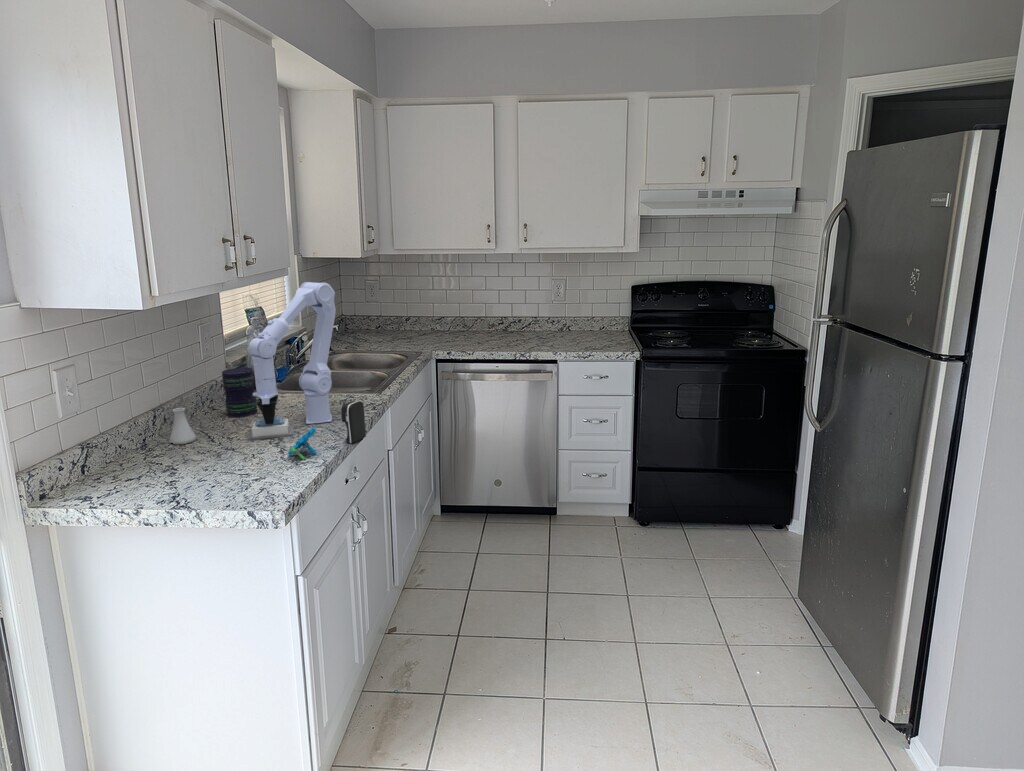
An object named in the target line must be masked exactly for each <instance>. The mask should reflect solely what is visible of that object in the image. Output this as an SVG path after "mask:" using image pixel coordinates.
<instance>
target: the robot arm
mask: <svg viewBox="0 0 1024 771" xmlns="http://www.w3.org/2000/svg"><path fill="white" fill-rule="evenodd" d="M335 295H336V292H335V290H334V289H333V288H332V286H331V284H329V283H327V282H312V281H305V282H303V283H302V284H301V285H300V286H299V287H298V289H296V292H295V295H294V296H293V298H291V301H290V302H289V304H288V305H287V306H286V307H285V309H284V310H283V312H282V313H281V314H280V316H278V317H274V318H272V319H269V320H268V321H267V325H266V327H264V329H263V330H262V331H261V332H259V333H258V335H257V337H255V338H252V339H251V340H250V342H249V344H248V347H247V350H246V351H247V352H248V354H249V355H250V357H251V358H252V364H253V372H254V373H253V375H254V383H255V388H256V392H255V393H253V396H256V398H258V400H259V401H257V408H259V410H260V412H261V414H262V417H264V420H265V423H266V424H273V422H274V416H276V407H277V406H276V405H277V403H278V399H279V395H278V393H279V392H278V389H277V381H276V380H277V379H276V371H275V361H274V357H273V356H275V355H276V352H277V347H278V345H279V344H280V342H281V341H282V339H284V337H285V336H286V335H287V333H288V332H289V331H290V326H289V325H290V324H291V323H292V322H293V321H294V320H295V318H297V316H298V315H299V314H300V313H301V312H302V311H303V310H304V309H305V308H307V307H312V308H313V310H314V311H315V312H316V314H317V315H316V320H315V326H314V331H313V338H312V343H311V350H310V355H309V361H308V362H307V364H305V365H304V366H303V370H302V373H301V375H300V376H299V379H298V385H299V387H300V388H301V390H303V393H304V401H305V402H304V403H305V411H306V415H305V416H306V418H305V424H306V425H309V424H310V425H312V424H321V423H331V422H332V421H333V417H332V415H333V414H332V413H331V411H330V409H331V408H330V399H329V394H330V390H331V388H332V385H333V384H332V383H333V381H332V370H331V369H330V367H329V366H328V360H329V354H330V349H331V348H330V347H331V341H332V338H333V337H332V336H333V330H334V324H335V318H336V311H337V309H336V303H335Z"/></svg>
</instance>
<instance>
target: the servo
mask: <svg viewBox="0 0 1024 771" xmlns="http://www.w3.org/2000/svg"><path fill="white" fill-rule="evenodd" d="M285 419H286V418H285V417H284V418H281V416H280V415H275V416H274V422H273V424H266V423H265V420H264V417H263V416H260V417H259V420H256V421H254V422H255V426H257V425H260V427H264V426H274V425H281V424H280V423H284V422H285Z"/></svg>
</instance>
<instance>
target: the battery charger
mask: <svg viewBox="0 0 1024 771" xmlns="http://www.w3.org/2000/svg"><path fill="white" fill-rule="evenodd" d="M340 413H341V422H342V423H344V424H345V426H346V430H347V431H346V432H347V433H346V434H347V437H346V439H345V442H346V443H349V444H354V443H357V442H360V441H361V440H362V439H364V438H366V437H367V434H366V420H365V408H364V403H363V402H362V401H361V400H352V401H349V402H346V403H345V404H343V405H342V406H341V409H340Z"/></svg>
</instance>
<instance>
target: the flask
mask: <svg viewBox="0 0 1024 771" xmlns="http://www.w3.org/2000/svg"><path fill="white" fill-rule="evenodd" d="M185 410H186V408H185V407H177V408H173V409H172V411H171V412H172V413H173V415H174V416H173V417H174V418H173V420H174V421H173V425H172V430H171V434H170V437H169V442H170V443H169V442H168V443H169V444H171V443H173V444H172V445H186V444H189V443H192V442H195V441H196V440H197V439H198V437H197V436H196V434H195V432H194V431H193V429H192V427H191V426H190V423H189V422H188V420H187V416H186V412H185Z"/></svg>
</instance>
